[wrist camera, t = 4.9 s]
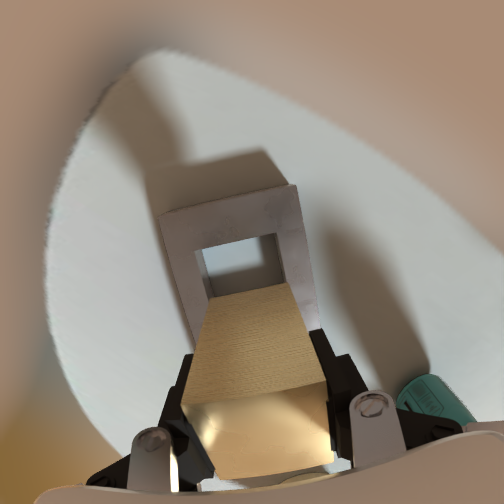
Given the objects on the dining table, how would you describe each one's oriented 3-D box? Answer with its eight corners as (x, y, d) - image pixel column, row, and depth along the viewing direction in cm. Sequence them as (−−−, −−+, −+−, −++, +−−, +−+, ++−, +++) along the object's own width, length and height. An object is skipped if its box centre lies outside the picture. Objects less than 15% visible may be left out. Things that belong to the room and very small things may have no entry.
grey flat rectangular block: (289, 183, 24) (296, 184, 21) (326, 421, 30) (333, 440, 27) (167, 212, 24) (157, 217, 21) (240, 439, 30) (241, 458, 27)
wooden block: (288, 282, 15) (325, 380, 7) (300, 348, 16) (333, 462, 8) (210, 298, 15) (180, 404, 7) (229, 362, 16) (220, 480, 8)
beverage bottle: (387, 379, 29) (474, 518, 10) (436, 355, 29) (538, 469, 9) (389, 415, 31) (457, 539, 11) (434, 393, 30) (514, 500, 11)
